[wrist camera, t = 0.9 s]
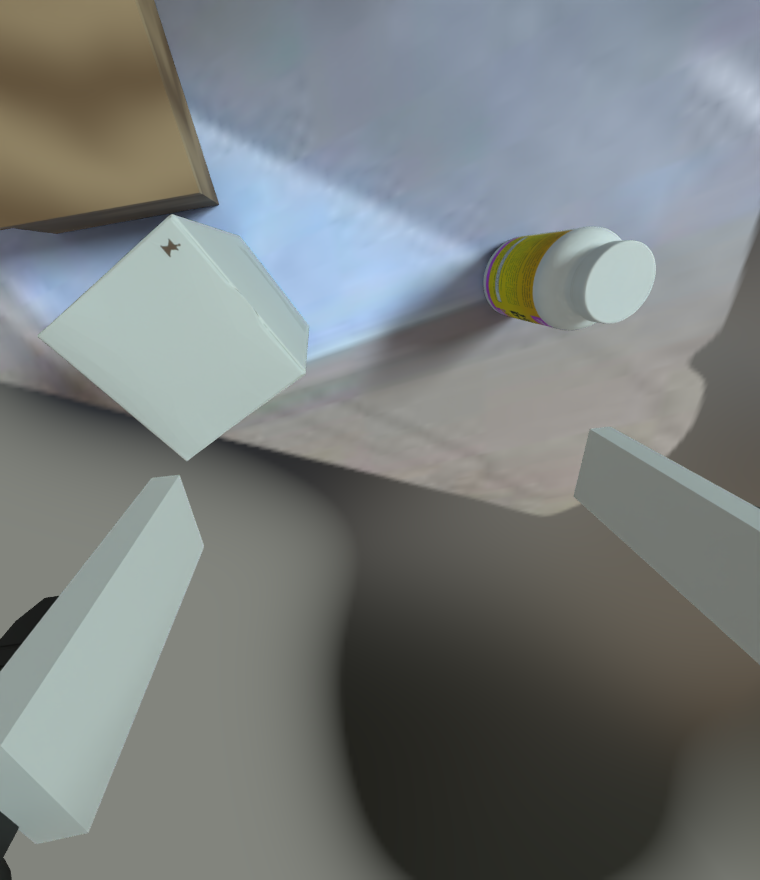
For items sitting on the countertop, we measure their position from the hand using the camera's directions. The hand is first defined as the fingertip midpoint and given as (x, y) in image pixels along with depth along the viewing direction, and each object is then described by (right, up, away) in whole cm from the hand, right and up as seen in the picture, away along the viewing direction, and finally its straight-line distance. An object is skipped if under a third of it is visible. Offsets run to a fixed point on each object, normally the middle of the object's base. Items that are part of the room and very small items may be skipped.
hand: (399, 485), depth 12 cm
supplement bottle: (+12, +17, +21) cm, 30 cm away
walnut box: (-20, +23, +12) cm, 33 cm away
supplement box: (-13, +12, +19) cm, 26 cm away
